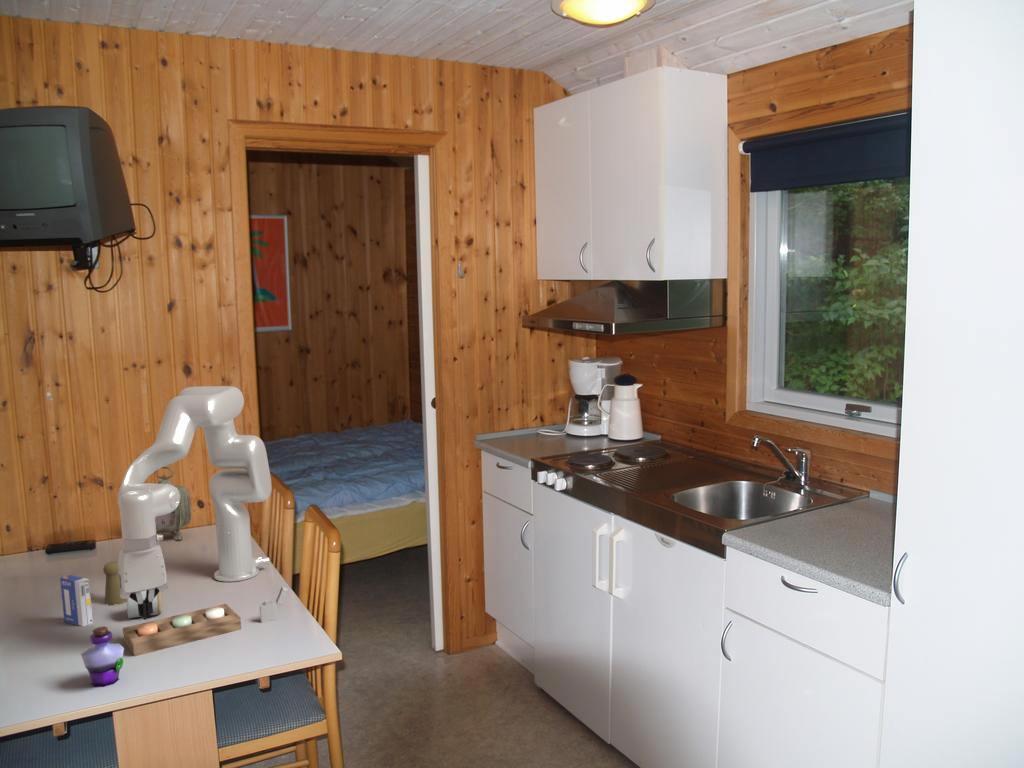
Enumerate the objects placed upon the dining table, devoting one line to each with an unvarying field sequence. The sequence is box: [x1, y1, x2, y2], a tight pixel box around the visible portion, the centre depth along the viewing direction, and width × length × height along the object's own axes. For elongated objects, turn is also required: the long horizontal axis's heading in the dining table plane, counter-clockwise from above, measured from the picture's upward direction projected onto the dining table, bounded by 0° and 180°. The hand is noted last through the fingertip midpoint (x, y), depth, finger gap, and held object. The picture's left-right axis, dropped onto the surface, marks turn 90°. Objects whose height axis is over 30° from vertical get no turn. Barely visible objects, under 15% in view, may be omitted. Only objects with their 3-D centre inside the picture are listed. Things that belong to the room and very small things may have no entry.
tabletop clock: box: [153, 466, 192, 541], centre depth 300 cm, size 14×9×25 cm, turn 81°
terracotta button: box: [138, 623, 158, 637], centre depth 212 cm, size 4×4×2 cm
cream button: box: [206, 608, 224, 620], centre depth 221 cm, size 4×4×2 cm
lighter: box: [258, 586, 288, 624], centre depth 225 cm, size 7×2×8 cm, turn 115°
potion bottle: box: [80, 626, 125, 688], centre depth 192 cm, size 9×9×12 cm
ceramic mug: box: [126, 590, 164, 619], centre depth 232 cm, size 11×8×8 cm
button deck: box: [122, 603, 242, 657], centre depth 217 cm, size 25×12×3 cm, turn 125°
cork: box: [102, 560, 127, 606], centre depth 241 cm, size 6×6×11 cm
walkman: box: [59, 574, 94, 627], centre depth 227 cm, size 8×3×12 cm, turn 60°
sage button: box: [172, 615, 192, 628], centre depth 217 cm, size 4×4×2 cm
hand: (146, 617), depth 212 cm, fingers closed
